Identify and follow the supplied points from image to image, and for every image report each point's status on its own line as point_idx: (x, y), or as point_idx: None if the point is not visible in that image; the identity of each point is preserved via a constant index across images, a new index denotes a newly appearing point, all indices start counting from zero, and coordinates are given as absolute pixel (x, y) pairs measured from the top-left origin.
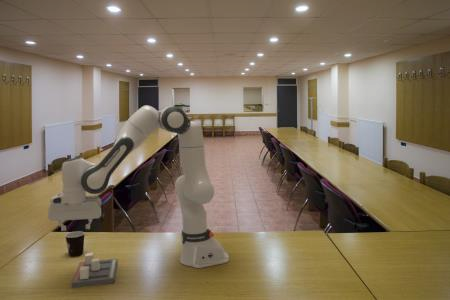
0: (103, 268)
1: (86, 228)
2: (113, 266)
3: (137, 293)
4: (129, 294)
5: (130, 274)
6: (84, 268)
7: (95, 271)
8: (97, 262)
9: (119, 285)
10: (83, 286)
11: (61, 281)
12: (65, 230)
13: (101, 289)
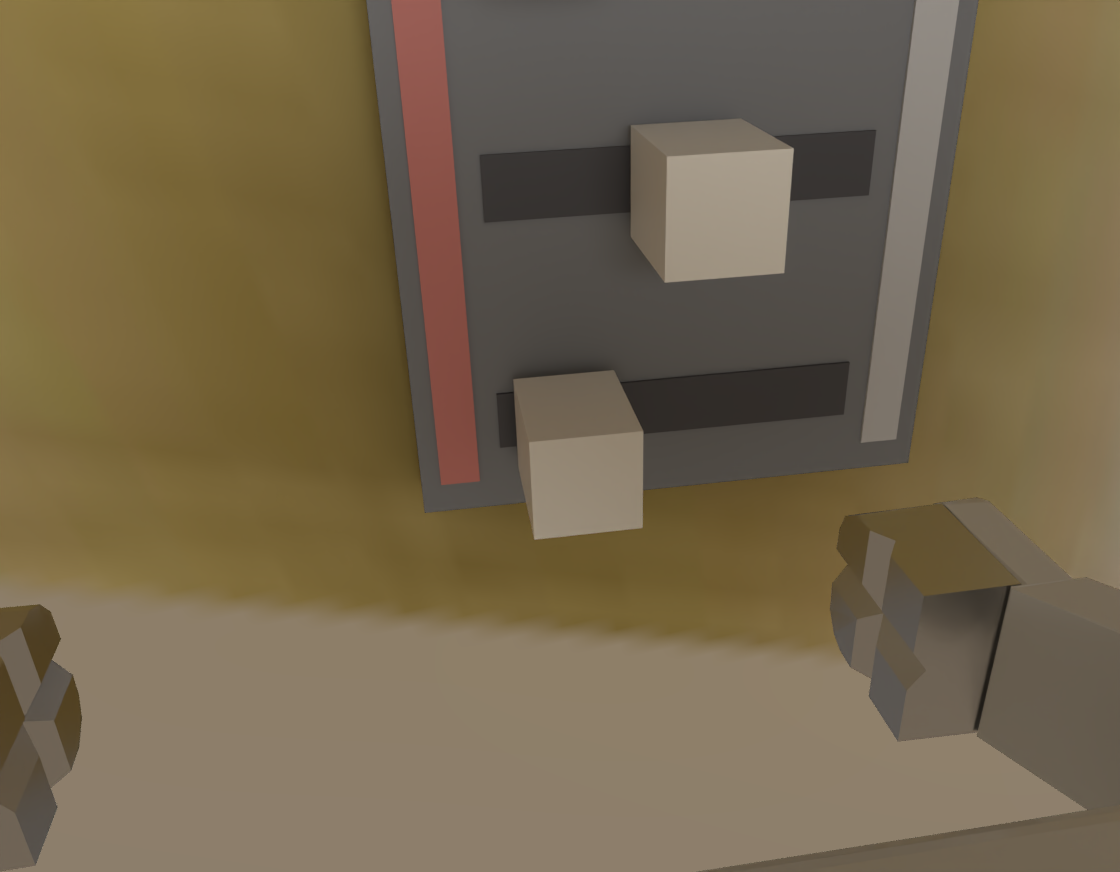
0: None
1: (866, 651)
2: (929, 106)
3: None
4: None
5: (1084, 244)
6: (595, 507)
7: None
8: (754, 266)
9: (930, 490)
10: None
11: (222, 294)
12: (75, 684)
13: (751, 546)
